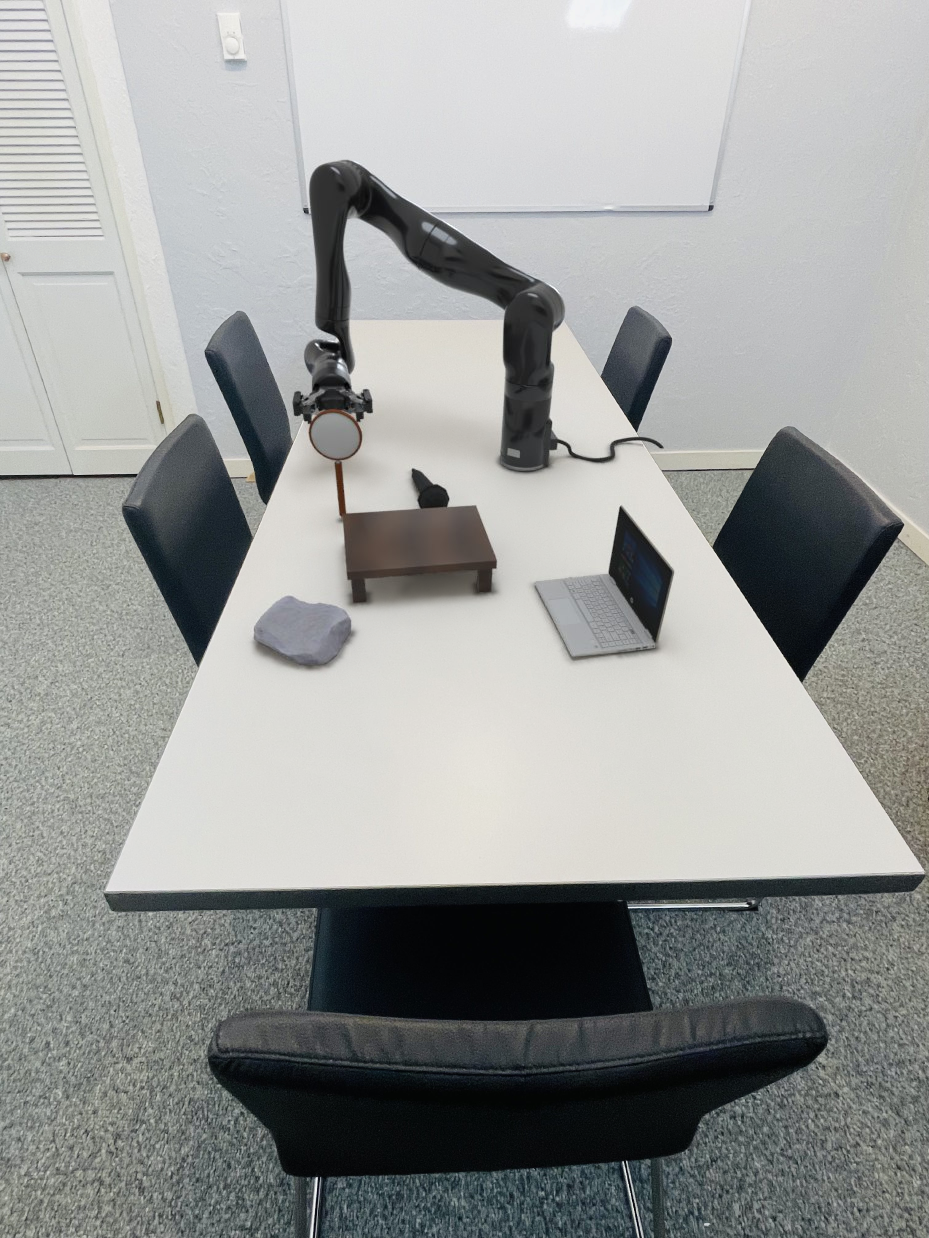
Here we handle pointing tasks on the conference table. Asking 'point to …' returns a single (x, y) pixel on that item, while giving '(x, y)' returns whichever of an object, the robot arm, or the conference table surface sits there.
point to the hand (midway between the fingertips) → (334, 418)
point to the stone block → (303, 630)
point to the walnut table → (416, 545)
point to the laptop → (613, 597)
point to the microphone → (429, 492)
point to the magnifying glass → (336, 443)
